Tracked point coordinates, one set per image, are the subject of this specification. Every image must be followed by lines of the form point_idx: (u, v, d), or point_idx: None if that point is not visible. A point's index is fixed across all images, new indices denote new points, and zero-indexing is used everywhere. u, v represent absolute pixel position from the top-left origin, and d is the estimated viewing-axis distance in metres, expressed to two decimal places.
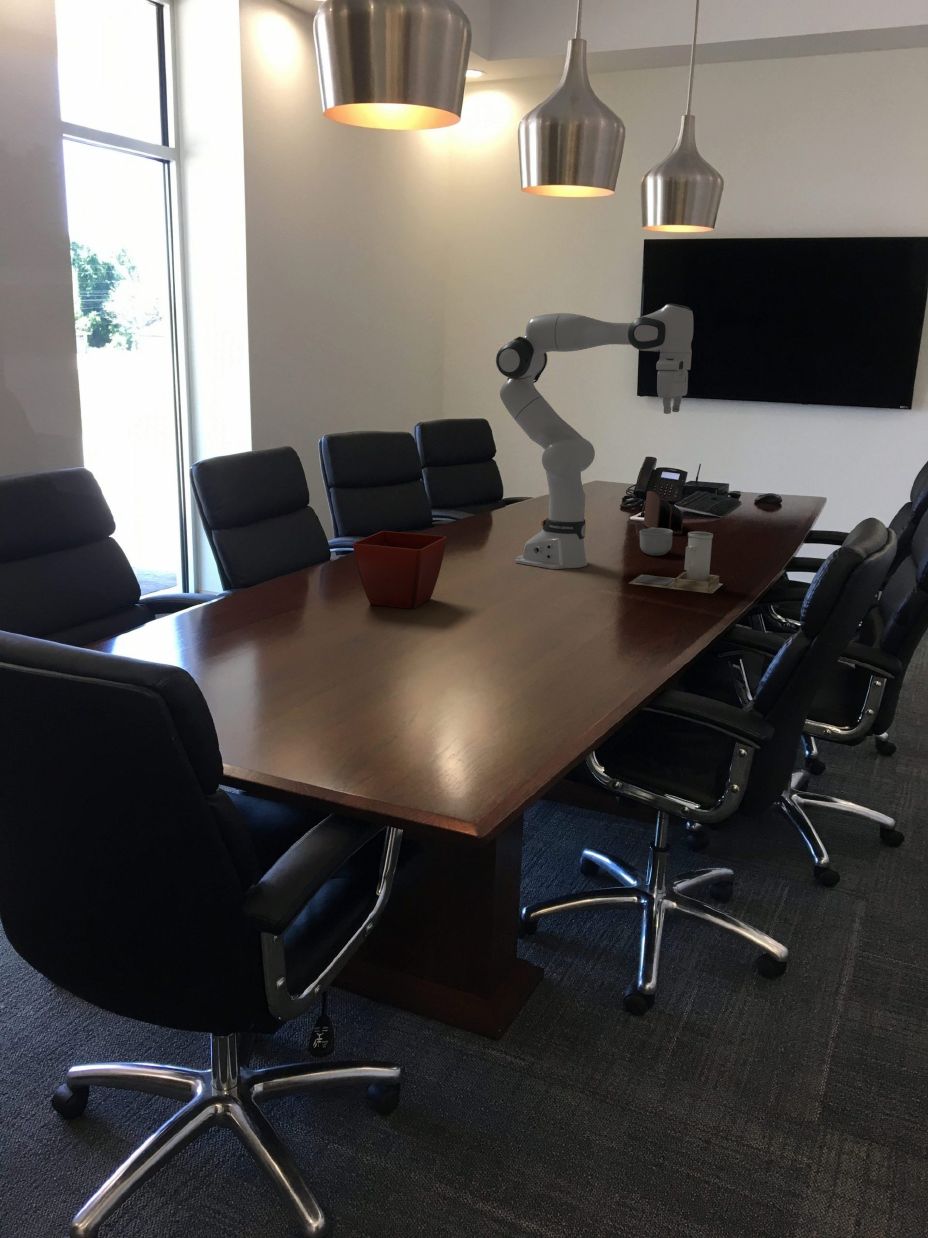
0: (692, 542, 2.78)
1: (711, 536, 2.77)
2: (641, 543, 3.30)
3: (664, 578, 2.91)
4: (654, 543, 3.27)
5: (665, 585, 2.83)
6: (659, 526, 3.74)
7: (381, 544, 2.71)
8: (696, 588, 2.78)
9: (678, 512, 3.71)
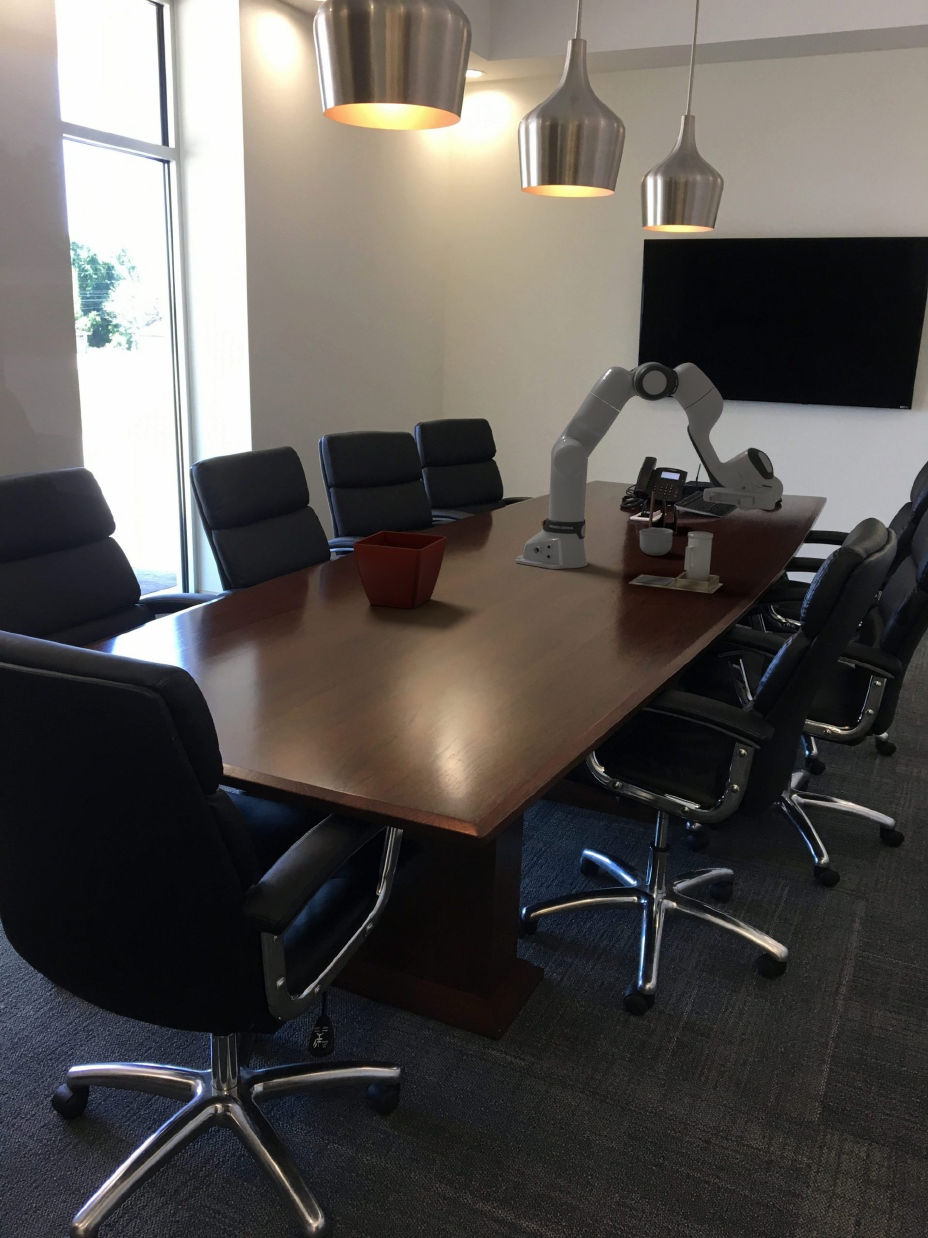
0: (692, 542, 2.78)
1: (711, 536, 2.77)
2: (641, 543, 3.30)
3: (664, 578, 2.91)
4: (654, 543, 3.27)
5: (665, 585, 2.83)
6: (657, 526, 3.74)
7: (381, 544, 2.71)
8: (696, 588, 2.78)
9: None
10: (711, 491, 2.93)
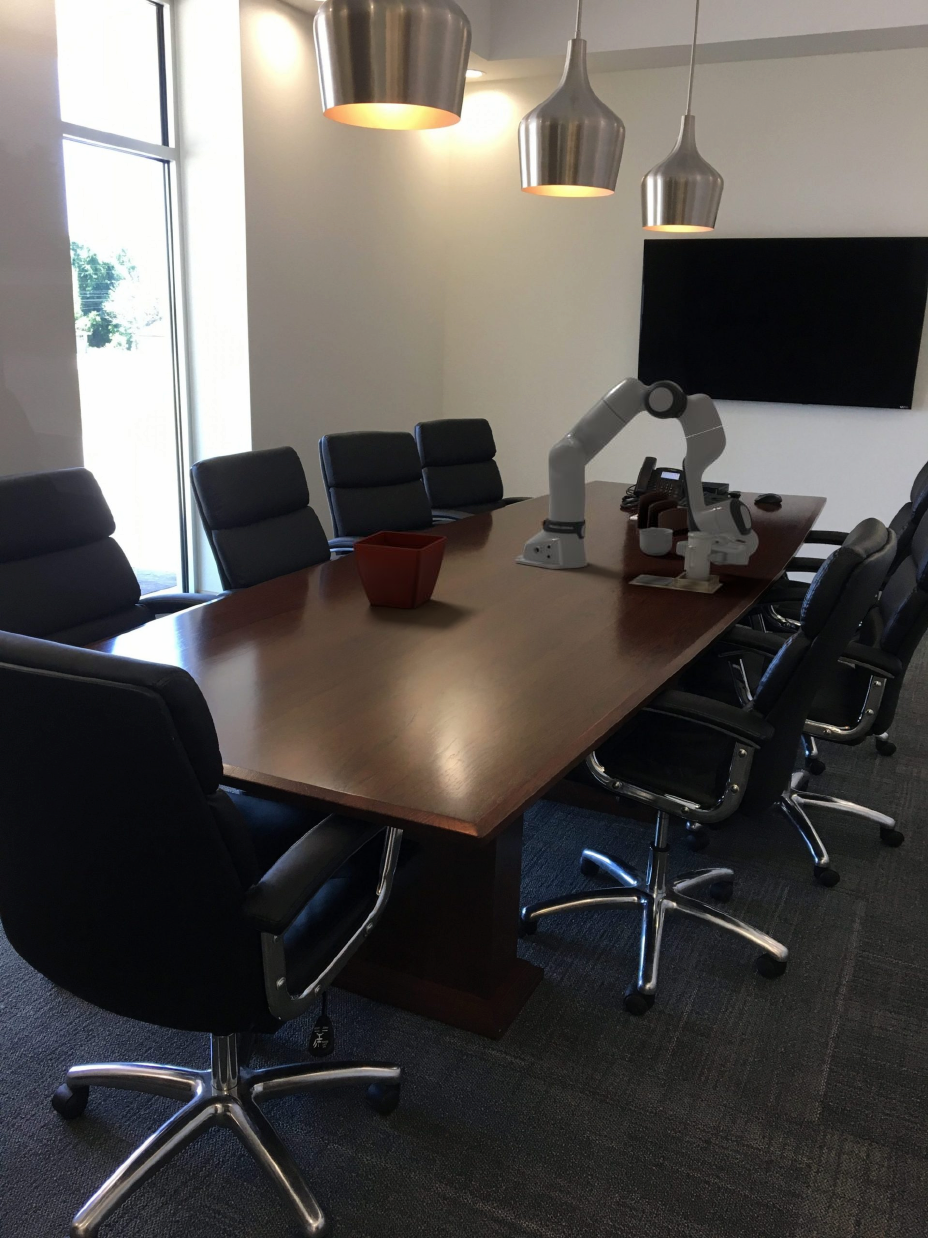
0: (692, 542, 2.78)
1: (711, 536, 2.77)
2: (641, 543, 3.30)
3: (664, 578, 2.91)
4: (654, 543, 3.27)
5: (665, 585, 2.83)
6: None
7: (381, 544, 2.71)
8: (696, 588, 2.78)
9: None
10: (684, 545, 2.88)
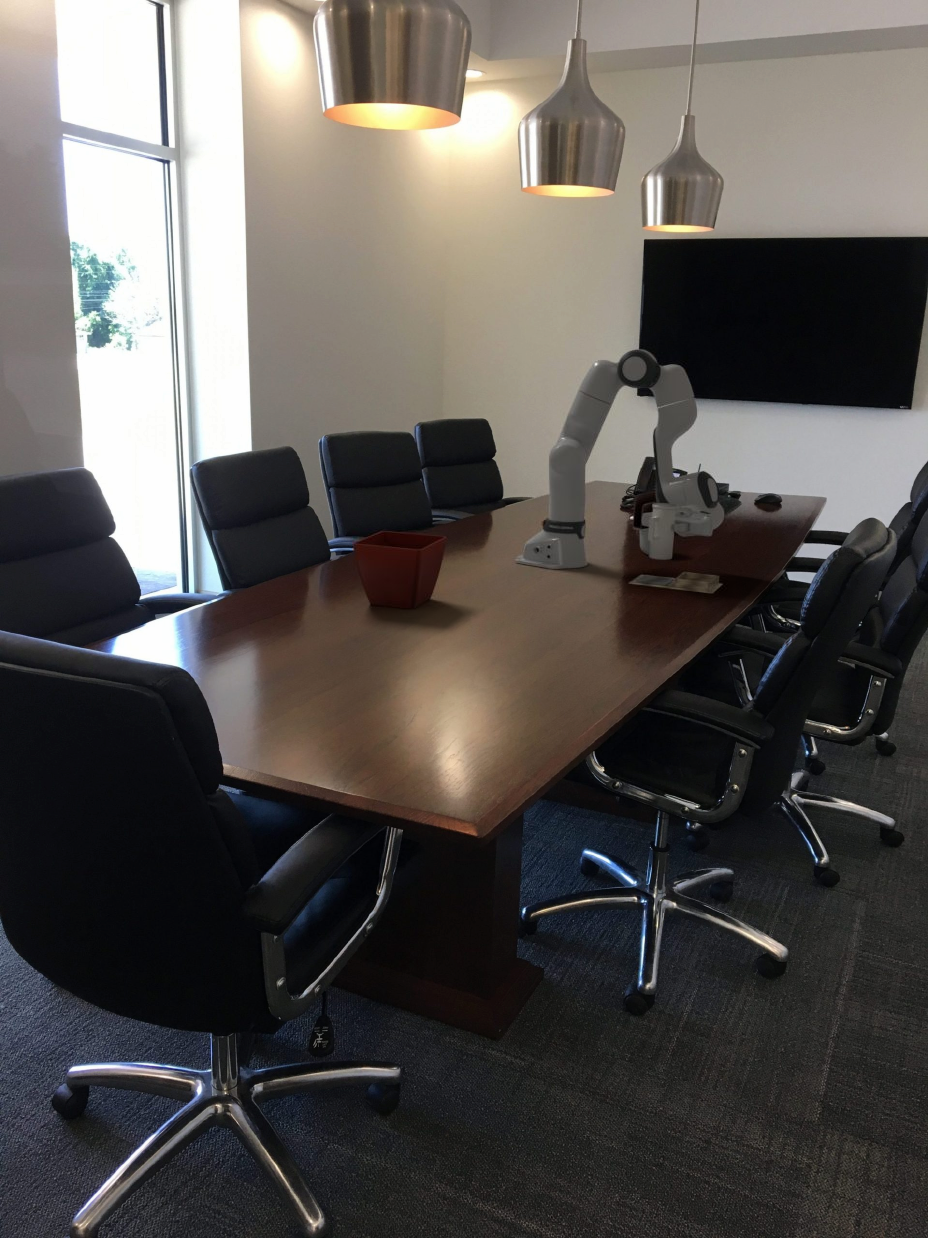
0: (656, 513, 2.81)
1: (675, 507, 2.80)
2: (641, 543, 3.30)
3: (664, 578, 2.91)
4: None
5: (665, 585, 2.83)
6: None
7: (381, 544, 2.71)
8: (696, 588, 2.78)
9: None
10: (649, 516, 2.90)
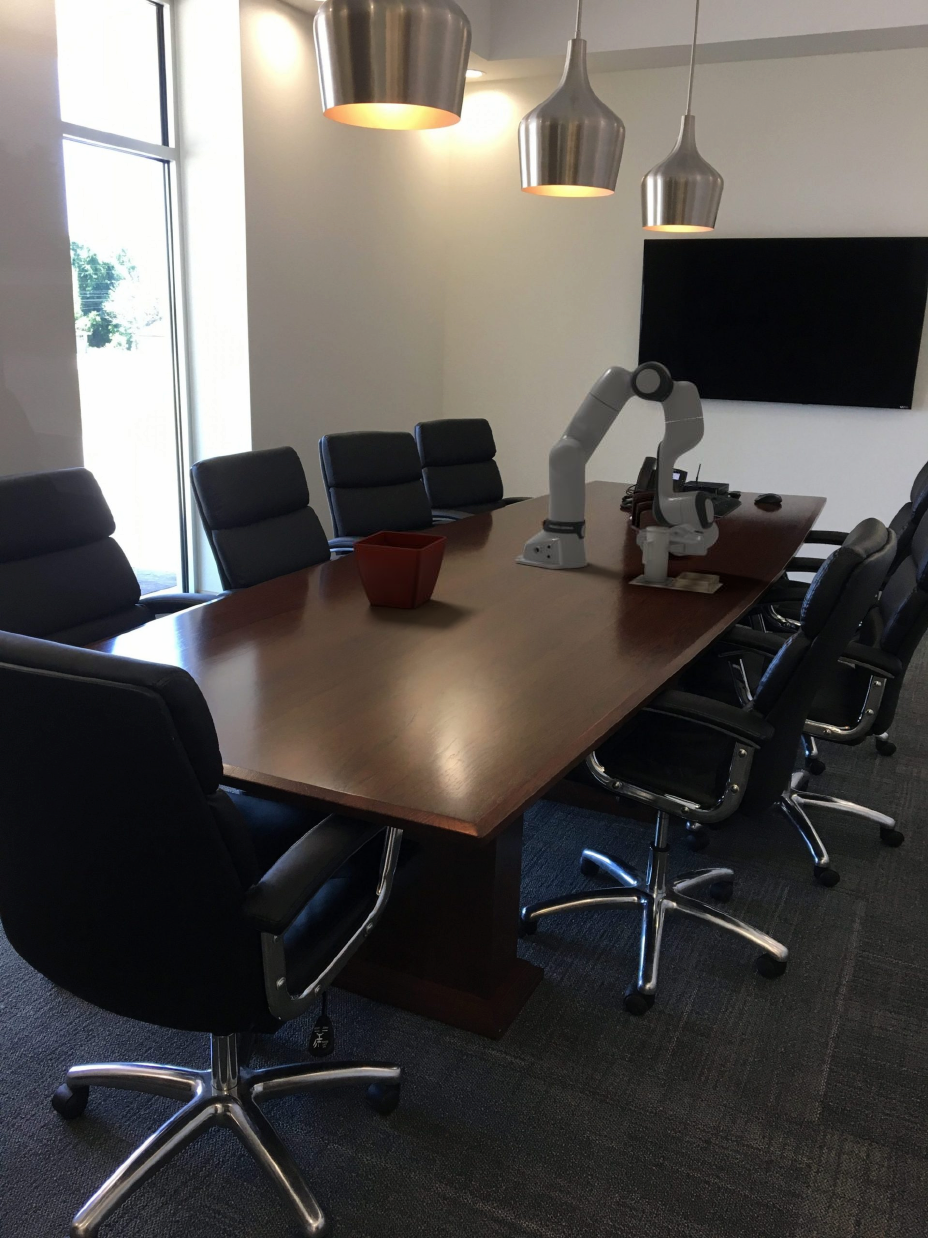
0: (650, 536, 2.83)
1: (669, 530, 2.83)
2: None
3: None
4: None
5: (665, 585, 2.83)
6: None
7: (381, 544, 2.71)
8: (696, 588, 2.78)
9: None
10: (644, 536, 2.93)
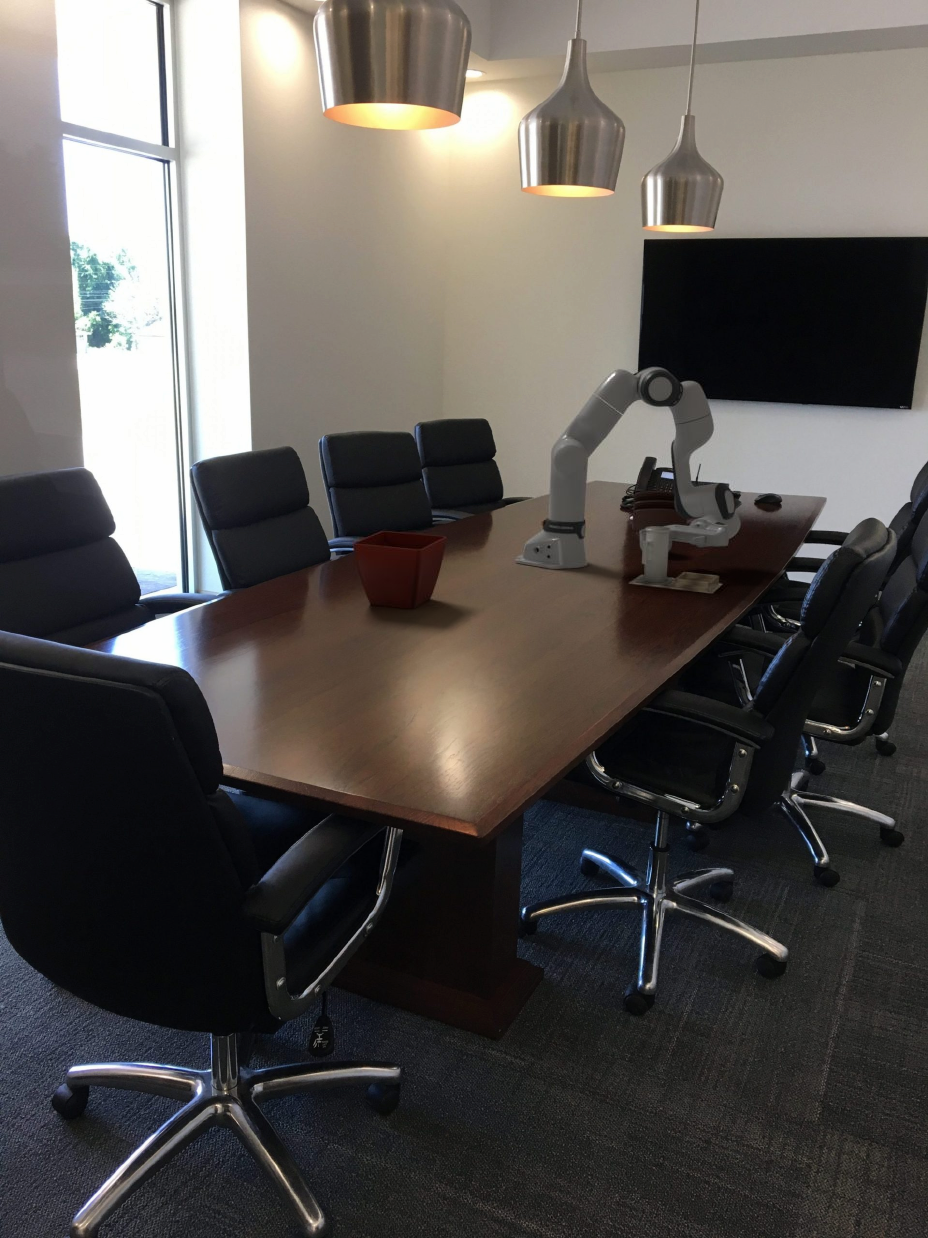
0: (649, 536, 2.83)
1: (668, 530, 2.83)
2: (641, 543, 3.30)
3: None
4: None
5: (665, 585, 2.83)
6: None
7: (381, 544, 2.71)
8: (696, 588, 2.78)
9: None
10: None
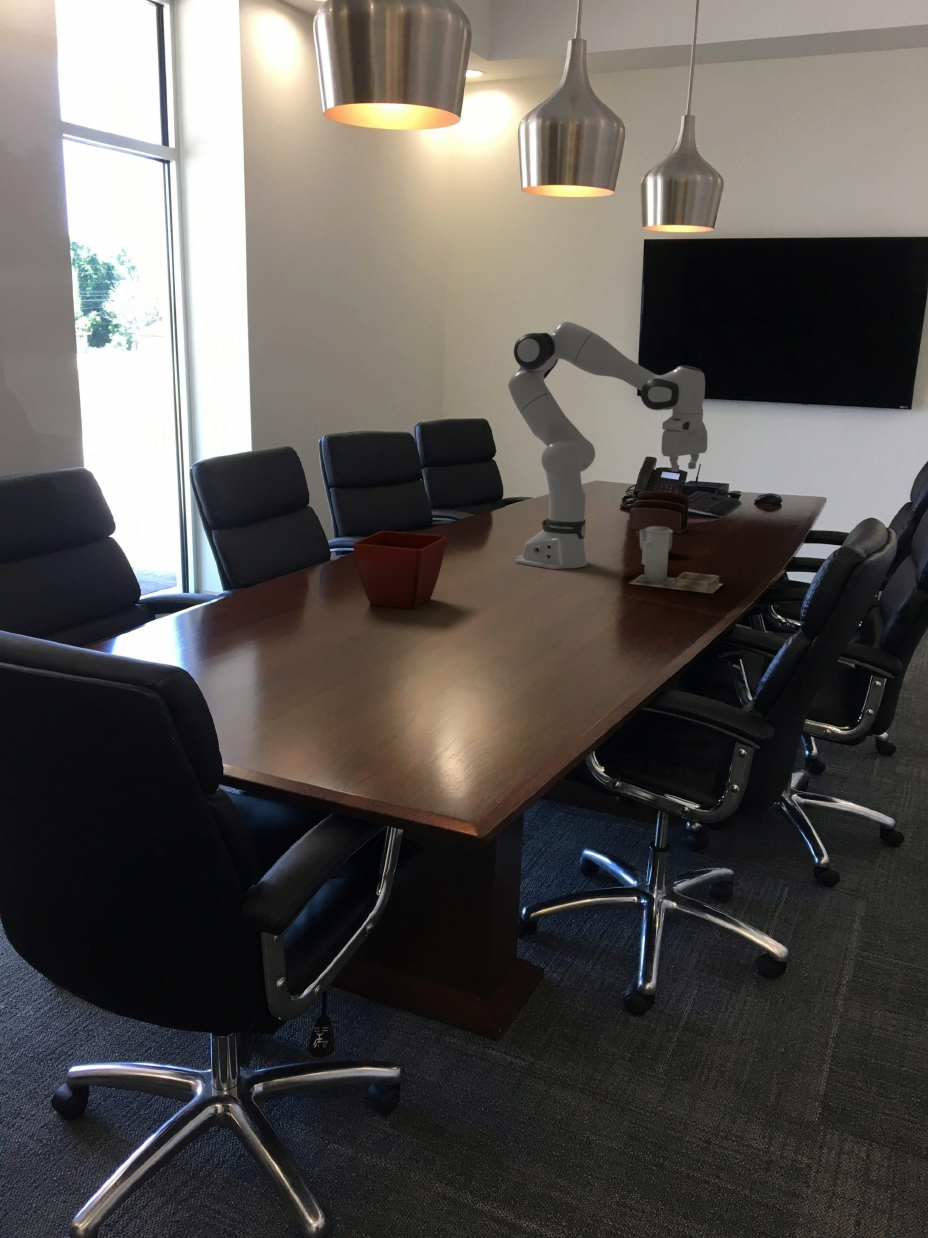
0: (649, 537, 2.83)
1: (668, 531, 2.82)
2: (641, 543, 3.30)
3: None
4: None
5: (665, 585, 2.83)
6: None
7: (381, 544, 2.71)
8: (696, 588, 2.78)
9: None
10: None
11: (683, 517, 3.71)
